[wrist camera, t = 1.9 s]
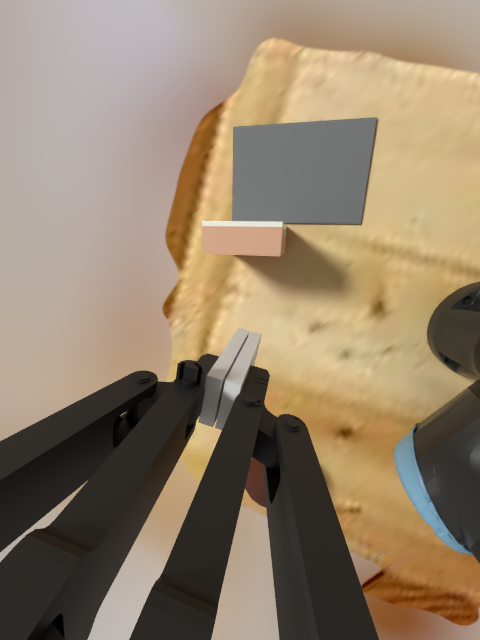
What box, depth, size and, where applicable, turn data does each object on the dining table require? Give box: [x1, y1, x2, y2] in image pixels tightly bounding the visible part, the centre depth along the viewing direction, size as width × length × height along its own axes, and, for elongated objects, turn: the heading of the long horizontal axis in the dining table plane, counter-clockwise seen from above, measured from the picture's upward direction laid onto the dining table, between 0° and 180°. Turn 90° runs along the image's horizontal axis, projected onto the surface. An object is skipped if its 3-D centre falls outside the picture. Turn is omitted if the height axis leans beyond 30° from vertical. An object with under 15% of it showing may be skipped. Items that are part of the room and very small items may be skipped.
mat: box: [232, 117, 377, 224], centre depth 39 cm, size 14×20×1 cm
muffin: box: [245, 457, 266, 507], centre depth 51 cm, size 12×11×10 cm
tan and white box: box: [202, 221, 287, 256], centre depth 37 cm, size 4×10×12 cm, turn 89°
